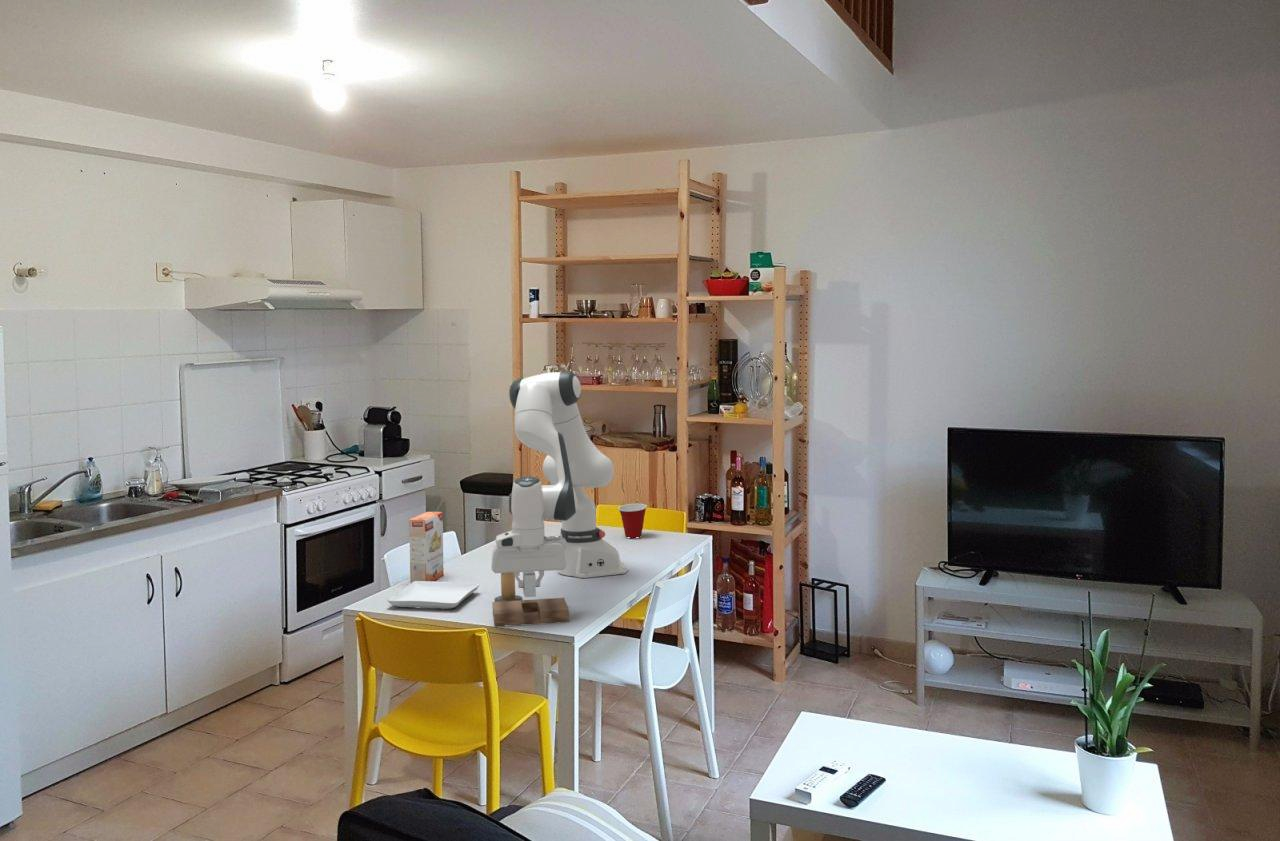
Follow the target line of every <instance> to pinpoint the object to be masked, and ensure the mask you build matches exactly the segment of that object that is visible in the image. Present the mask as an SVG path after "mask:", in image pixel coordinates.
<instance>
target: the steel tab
mask: <svg viewBox="0 0 1280 841" xmlns="http://www.w3.org/2000/svg"><path fill="white" fill-rule="evenodd" d="M535 572H536V571H530V572H522V580H524V588H522V592H523V596H524V598H532V597H533V598H536V595H537V593H536V591H537V587H536V573H535Z"/></svg>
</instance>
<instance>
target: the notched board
mask: <svg viewBox="0 0 1280 841" xmlns="http://www.w3.org/2000/svg"><path fill="white" fill-rule="evenodd" d="M491 605H492V619H493V618H494V619H493V625H494V627H495V628H498V626H501V627H506V626H505V625H516V626H522V625H521V624H531V625H541V623H546V624H558V623H557V622H561V623H570V608H569V606H568V604H567V602H566V599H565V598H564V597H553V598H537V599H534V598H533V599H522V600H518V601H502V602H495V601H492V604H491Z"/></svg>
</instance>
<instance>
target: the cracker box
mask: <svg viewBox="0 0 1280 841" xmlns="http://www.w3.org/2000/svg"><path fill="white" fill-rule="evenodd" d="M443 513H444V512H443V511H426V512H423V513H421V514H419V515H417V516H414V517H411V518H409V520H408V527H409V528H408V532H409V533H408V534H409V537H408V538H409V572H410V573H409V576H410V578H409V579H410V584H411V583H412V582H414V581H436V580H438V579H439V578H441V577H443V576H444V574H445V573H444V521H443V520H444V519H443V516H444V515H443Z"/></svg>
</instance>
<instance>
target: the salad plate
mask: <svg viewBox="0 0 1280 841" xmlns="http://www.w3.org/2000/svg"><path fill="white" fill-rule="evenodd" d="M479 587H480V583H473V582H471V583H470V582H455V581H436V580H435V581H414V582H412V583H411V582H410V583H409V584H408V585H406V586H405V587H403V588H402V589H401V590H399V591H398V592H396V593H395V594H393V595H392V596H391V597H389V598H388V599H387V600H386V602H387V603H389V604H390V605H392V606H394V607H397V608H398V607H400V608H405V607H420V608H419V609H427V608H441V609H440V610H449V609H454V608H456V607H457V606H458V605H460V604H461V603H462V602H463V601H464V600H466V599H467V598H468V597H469V596H471V595H472V594H473V593H474V592H475V591H477V590H478V589H479Z"/></svg>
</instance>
